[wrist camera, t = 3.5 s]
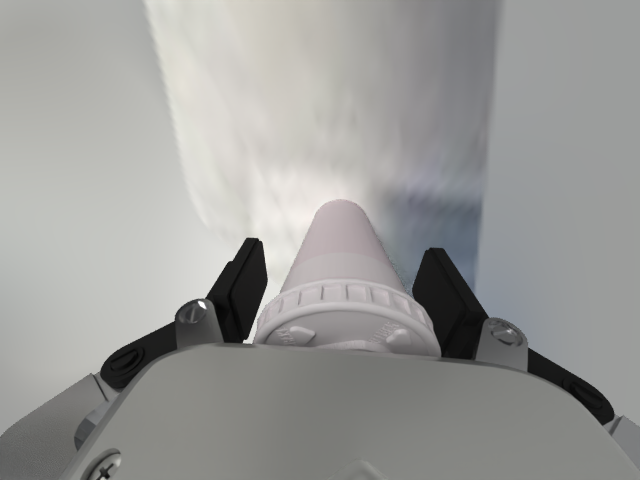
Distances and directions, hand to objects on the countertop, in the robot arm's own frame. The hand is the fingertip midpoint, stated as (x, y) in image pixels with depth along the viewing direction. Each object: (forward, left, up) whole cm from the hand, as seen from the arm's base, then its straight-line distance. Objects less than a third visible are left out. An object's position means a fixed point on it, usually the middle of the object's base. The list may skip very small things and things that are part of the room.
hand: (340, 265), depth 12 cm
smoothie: (0, 0, -5) cm, 5 cm away
